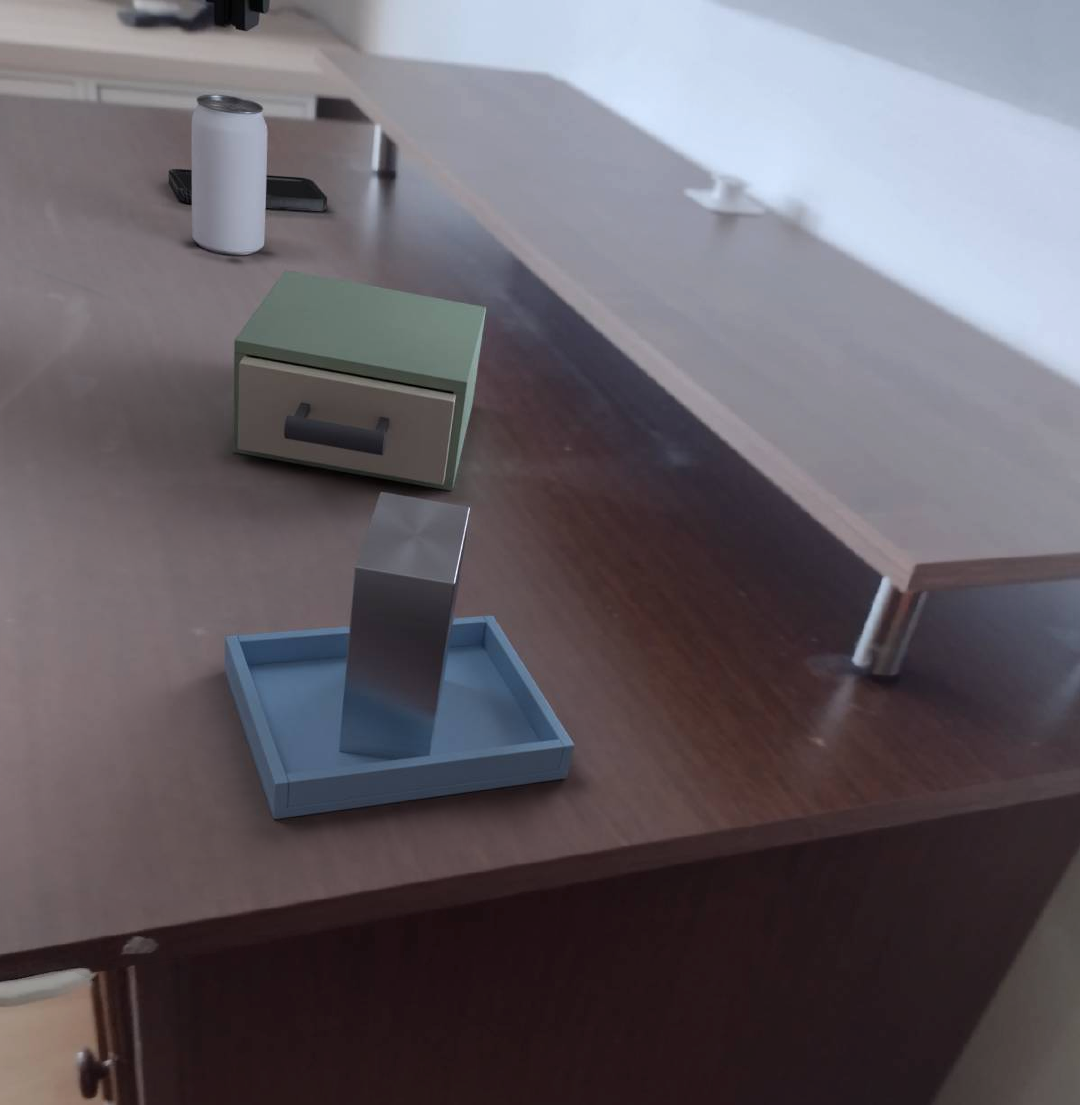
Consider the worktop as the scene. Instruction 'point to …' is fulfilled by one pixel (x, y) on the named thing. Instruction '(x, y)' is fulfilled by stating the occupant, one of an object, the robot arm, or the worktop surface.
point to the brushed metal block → (401, 626)
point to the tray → (359, 780)
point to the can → (228, 175)
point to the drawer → (344, 419)
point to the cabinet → (368, 344)
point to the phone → (278, 191)
